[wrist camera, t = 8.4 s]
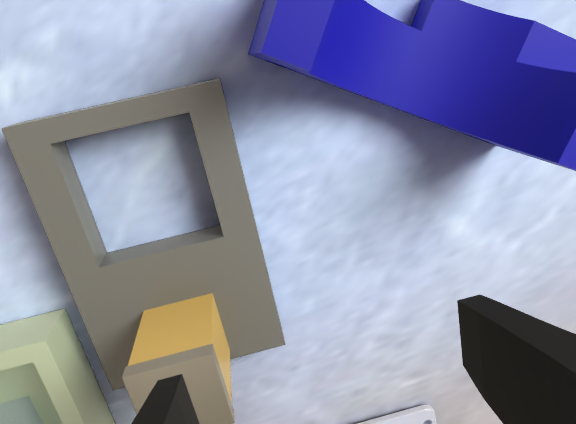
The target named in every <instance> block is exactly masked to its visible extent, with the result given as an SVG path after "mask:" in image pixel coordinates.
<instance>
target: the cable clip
mask: <svg viewBox="0 0 576 424" xmlns="http://www.w3.org/2000/svg"><path fill="white" fill-rule="evenodd" d="M248 54H249V55H252V56H254V57H257V58H260V59H262V60H265V61H268V62H271V63H273V64H276V65H279V66H281V67H284V68H287V69H290V70H292V71H295V72H298V73H300V74H303V75H306V76H309V77H311V78H314V79H317V80H319V81H322V82H325V83H328V84H330V85H333V86H336V87H338V88H341V89H344V90H347V91H349V92H352V93H355V94H357V95H360V96H363V97H365V98H368V99H371V100H374V101H376V102H379V103H382V104H384V105H387V106H390V107H393V108H395V109H398V110H401V111H403V112H406V113H409V114H412V115H414V116H417V117H420V118H422V119H425V120H428V121H431V122H433V123H436V124H439V125H441V126H444V127H447V128H450V129H452V130H455V131H458V132H460V133H463V134H466V135H469V136H471V137H474V138H477V139H479V140H482V141H485V142H488V143H490V144H493V145H496V146H499V147H502V148H505V149H508V150H512V151H515V152H518V153H521V154H524V155H527V156H531V157H534V158H537V159H540V160H543V161H546V162H549V163H553V164H556V165H559V166H562V167H565V168H568V169H572V170H575V171H576V40H575V39H573V38H571V37H569V36H567V35H565V34H562V33H560V32H558V31H556V30H554V29H551V28H549V27H547V26H545V25H543V24H541V23H538V22H536V21H533V20H528V19H523V18H519V17H514V16H510V15H506V14H502V13H498V12H495V11H491V10H488V9H484V8H481V7H478V6H475V5H472V4H469V3H466V2H463V1H461V0H421V2H420V5H419V7H418V10H417V12H416V15H415V17H414V20H413V22H412V25H411V26H409V25H407V24H404V23H402V22H400V21H398V20H396V19H394V18H392V17H390V16H389V15H387V14H385V13H383V12H381V11H380V10H378V9H376V8H375V7H373V6H372V5H370V4H369V3H367V2H366V1H364V0H264V3H263V6H262V10H261V13H260V16H259V19H258V23H257V26H256V29H255V32H254V36H253V39H252V42H251V46H250V49H249V52H248Z"/></svg>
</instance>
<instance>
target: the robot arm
mask: <svg viewBox="0 0 576 424" xmlns="http://www.w3.org/2000/svg"><path fill="white" fill-rule="evenodd" d="M458 313H459V324H460V336H461V347H462V359H463V366H464V367H465V369H466V371H467V372H468V374H469V376H470V377H471V379H472V381H473V382H474V384H475V386H476V387H477V389H478V390H479V392H480V393H481V395H482V397H483V398H484V400H485V401H486V402H487V403H488V405H489V406H490V407H491V409H492V410H493V411H494V412H495V414H496V415H497V416H498V417H499V419H500V420H501V421H502V423H503V424H576V334H574V333H571V332H569V331H566V330H564V329H561V328H559V327H556V326H554V325H551V324H549V323H546V322H544V321H542V320H539V319H537V318H535V317H532V316H530V315H528V314H525V313H523V312H521V311H518V310H516V309H514V308H511V307H509V306H507V305H504V304H502V303H500V302H497V301H495V300H493V299H490V298H487V297H485V296H482V295H477V296H473V297H469V298H465V299H462V300H458ZM426 420H427V421H426ZM424 421H426V422H424ZM132 424H200V423H199V420H198V418H197V415H196V412H195V409H194V406H193V403H192V401H191V398H190V395H189V392H188V389H187V386H186V384H185V381H184V378H183V375H182V374H180V375H176V376H172V377H169V378H165V379H161V380H158V381H157V382H156V384H155V386H154V387H153V389H152V390H151V392H150V394H149V395H148V397H147V399H146V400H145V402H144V404H143V405H142V407H141V409H140V410H139V412H138V414H137V415H136V417H135V419H134V420H133V422H132ZM357 424H436V418H435V412H434V410H433V409H432V407H431V406H430V405H421V406H418V407H414V408H410V409H407V410H403V411H400V412H396V413H393V414H389V415H386V416H382V417H378V418H375V419H371V420H368V421H364V422H361V423H357Z"/></svg>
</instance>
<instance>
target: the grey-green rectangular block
mask: <svg viewBox="0 0 576 424" xmlns="http://www.w3.org/2000/svg"><path fill="white" fill-rule="evenodd" d="M0 424H43V422H42V420H41V418H40V416H39V415H38V413H37V411H36V409H35V407H34V405H33V404H32V402H31V400H30V398H29V396H26V397H22V398H19V399H15V400H12V401H8V402H5V403H1V404H0Z"/></svg>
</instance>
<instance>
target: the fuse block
mask: <svg viewBox="0 0 576 424" xmlns="http://www.w3.org/2000/svg"><path fill="white" fill-rule="evenodd" d="M184 113H190V117H191V121H192V124H193V128H194V132H195V135H196V139H197V142H198V146H199V150H200V153H201V157H202V160H203V164H204V168H205V171H206V175H207V178H208V182H209V186H210V189H211V193H212V196H213V200H214V204H215V207H216V211H217V214H218V218H219V222H220V225H219V226H215V227H211V228H207V229H202V230H198V231H194V232H190V233H186V234H182V235H178V236H174V237H170V238H166V239H162V240H158V241H154V242H149V243H145V244H141V245H137V246H133V247H129V248H125V249H121V250H117V251H113V252H109V253H107V252H106V249H105V246H104V244H103V241H102V238H101V236H100V233H99V230H98V228H97V225H96V223H95V220H94V217H93V215H92V212H91V209H90V207H89V204H88V202H87V199H86V196H85V194H84V191H83V188H82V186H81V183H80V180H79V178H78V175H77V173H76V170H75V167H74V165H73V162H72V159H71V157H70V154H69V151H68V149H67V146H66V144H65V140H70V139H74V138H79V137H83V136H87V135H92V134H96V133H101V132H105V131H109V130H114V129H118V128H123V127H127V126H131V125H136V124H140V123H145V122H149V121H154V120H158V119H162V118H167V117H171V116H176V115H180V114H184ZM2 131H3V133H4V136H5V138H6V140H7V143H8V145H9V147H10V150H11V152H12V154H13V157H14V159H15V162H16V164H17V166H18V169H19V171H20V173H21V176H22V178H23V180H24V183H25V185H26V187H27V190H28V192H29V194H30V197H31V199H32V202H33V204H34V206H35V209H36V211H37V213H38V216H39V218H40V220H41V223H42V225H43V227H44V230H45V232H46V235H47V237H48V239H49V242H50V244H51V246H52V249H53V251H54V253H55V256H56V258H57V260H58V263H59V265H60V268H61V270H62V272H63V275H64V277H65V279H66V282H67V284H68V286H69V289H70V291H71V293H72V296H73V298H74V301H75V303H76V305H77V308H78V310H79V312H80V315H81V317H82V319H83V322H84V324H85V326H86V329H87V331H88V333H89V336H90V338H91V341H92V343H93V345H94V348H95V350H96V352H97V355H98V357H99V359H100V362H101V364H102V366H103V369H104V371H105V374H106V376H107V378H108V381H109V383H110V385H111V388H112V390H116V389H120V388H124V387H126V389H127V391H128V394H129V396H130V399H131V401H132V404H133V406H134V408H135V411H136V413H137V414H138V412H139V410H140V409H141V407H142V405H143V404H144V402H145V400H146V399H147V397H148V395H149V394H150V392H151V390H152V389H153V387H154V386H155V384H156V382H157V381H158V380H161V379H165V378H169V377H172V376H176V375H180V374H182V375H183V378H184V381H185V384H186V386H187V389H188V392H189V395H190V398H191V401H192V403H193V406H194V409H195V412H196V415H197V418H198V420H199V423H200V424H233V423H234V410H233V407H232V393H231V369H230V359H233V358H237V357H241V356H244V355H248V354H252V353H256V352H259V351H263V350H267V349H271V348H274V347H278V346H282V345H285V341H284V336H283V332H282V328H281V324H280V320H279V316H278V312H277V308H276V304H275V300H274V296H273V292H272V288H271V284H270V280H269V276H268V272H267V267H266V263H265V259H264V255H263V251H262V247H261V243H260V239H259V235H258V231H257V227H256V223H255V219H254V215H253V211H252V207H251V203H250V199H249V195H248V191H247V187H246V183H245V179H244V175H243V171H242V167H241V163H240V159H239V155H238V151H237V147H236V143H235V139H234V135H233V131H232V127H231V123H230V118H229V114H228V110H227V106H226V102H225V98H224V94H223V90H222V86H221V82H220V78H218V79H213V80H209V81H204V82H200V83H195V84H191V85H186V86H182V87H177V88H173V89H168V90H164V91H159V92H155V93H150V94H146V95H141V96H137V97H132V98H128V99H123V100H119V101H114V102H110V103H105V104H101V105H97V106H92V107H88V108H83V109H79V110H74V111H70V112H65V113H61V114H56V115H52V116H47V117H43V118H38V119H34V120H29V121H25V122H20V123H17V124H14V125H11V126H8V127H5V128H2Z"/></svg>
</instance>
